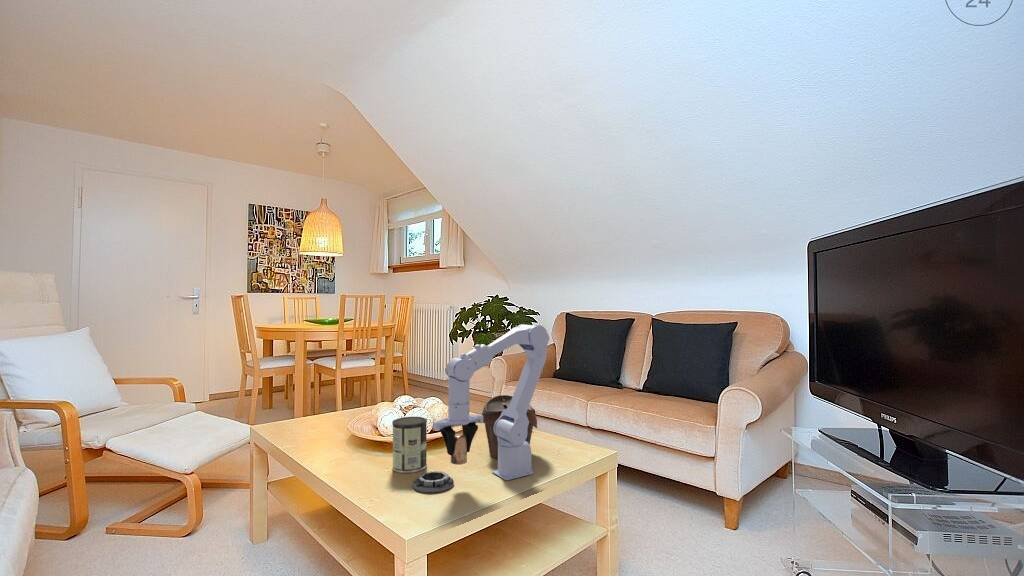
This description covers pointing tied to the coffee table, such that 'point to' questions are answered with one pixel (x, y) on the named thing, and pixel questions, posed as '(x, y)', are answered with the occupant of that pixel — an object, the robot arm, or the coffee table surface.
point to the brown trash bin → (492, 415)
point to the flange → (433, 482)
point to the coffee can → (409, 444)
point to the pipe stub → (459, 449)
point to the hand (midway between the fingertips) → (458, 452)
